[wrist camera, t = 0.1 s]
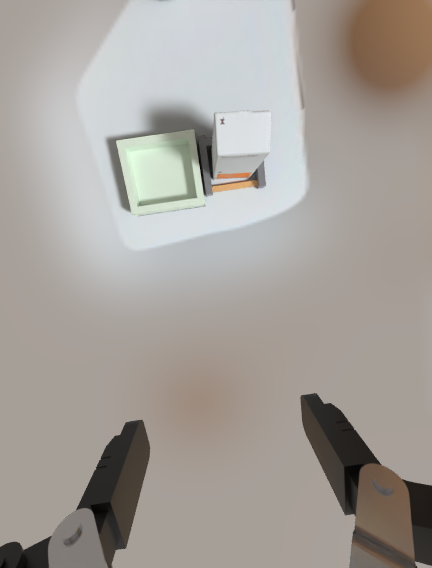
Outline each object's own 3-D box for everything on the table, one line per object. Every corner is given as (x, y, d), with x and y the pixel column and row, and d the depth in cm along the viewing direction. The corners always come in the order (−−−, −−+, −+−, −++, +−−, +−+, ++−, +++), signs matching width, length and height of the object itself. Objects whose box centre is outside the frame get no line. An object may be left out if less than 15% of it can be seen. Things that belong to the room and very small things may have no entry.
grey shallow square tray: (198, 141, 35) (197, 136, 33) (258, 132, 35) (260, 126, 33) (206, 196, 37) (206, 194, 35) (263, 187, 37) (265, 185, 35)
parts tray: (123, 148, 35) (115, 140, 32) (195, 137, 35) (193, 129, 32) (137, 216, 37) (131, 214, 34) (205, 206, 37) (204, 203, 34)
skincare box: (212, 180, 36) (215, 155, 24) (211, 150, 35) (212, 110, 24) (251, 178, 36) (271, 153, 25) (250, 149, 35) (271, 107, 24)
